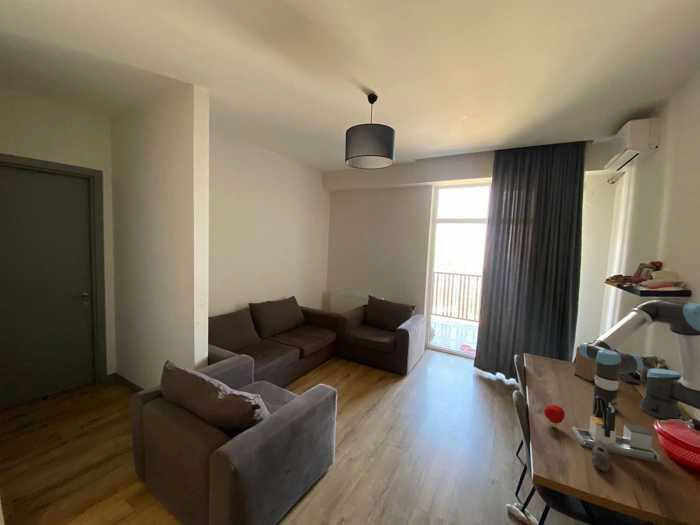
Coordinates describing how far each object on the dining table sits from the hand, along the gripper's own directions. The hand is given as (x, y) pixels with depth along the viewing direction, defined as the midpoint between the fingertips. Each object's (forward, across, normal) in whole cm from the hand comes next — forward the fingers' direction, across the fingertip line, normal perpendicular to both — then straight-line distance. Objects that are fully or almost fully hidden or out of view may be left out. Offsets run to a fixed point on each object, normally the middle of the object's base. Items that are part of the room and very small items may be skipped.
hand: (601, 438), depth 124 cm
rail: (+3, 0, +4) cm, 5 cm away
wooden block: (+3, -79, +24) cm, 83 cm away
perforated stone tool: (+3, +14, -6) cm, 16 cm away
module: (0, 0, 0) cm, 0 cm away
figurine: (+3, -38, +17) cm, 42 cm away
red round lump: (+3, -6, -16) cm, 17 cm away
